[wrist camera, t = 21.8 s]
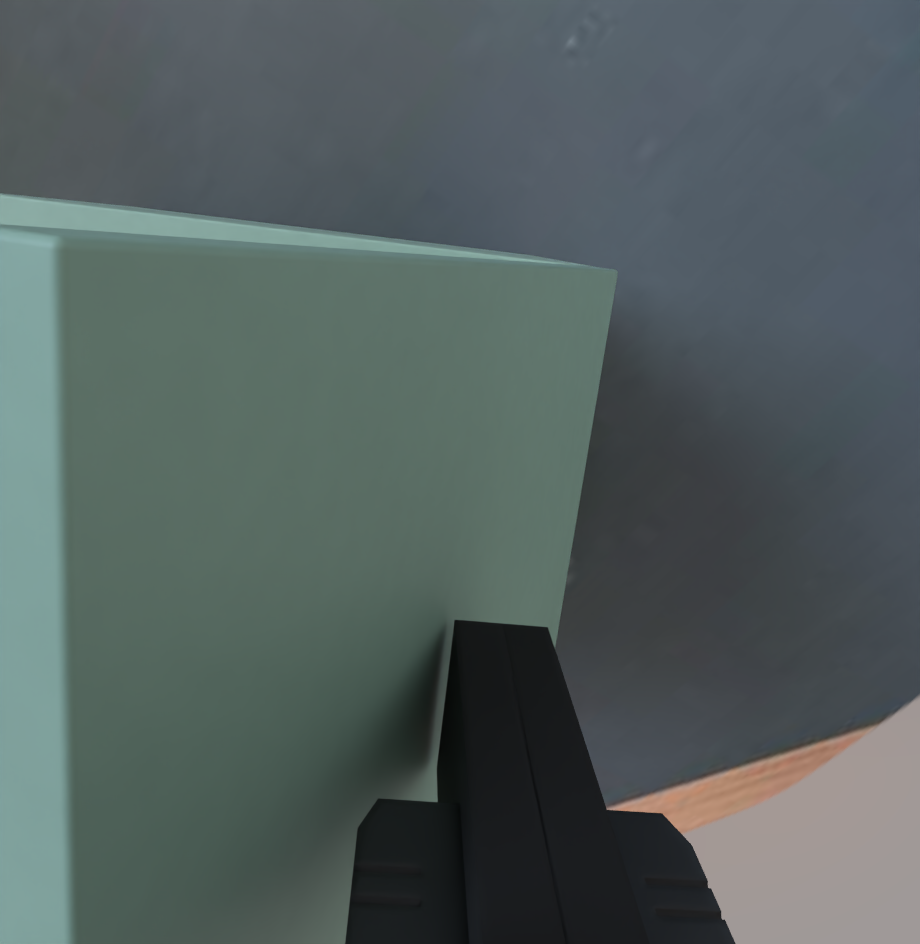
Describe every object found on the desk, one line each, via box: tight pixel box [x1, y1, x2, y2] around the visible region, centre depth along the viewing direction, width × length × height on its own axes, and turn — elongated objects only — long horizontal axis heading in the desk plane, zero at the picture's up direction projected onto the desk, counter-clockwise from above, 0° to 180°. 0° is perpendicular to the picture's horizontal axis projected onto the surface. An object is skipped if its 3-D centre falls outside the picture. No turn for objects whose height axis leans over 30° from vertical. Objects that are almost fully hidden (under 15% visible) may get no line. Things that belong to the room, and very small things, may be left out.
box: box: [0, 193, 593, 267], centre depth 27 cm, size 16×14×13 cm
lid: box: [0, 224, 618, 944], centre depth 14 cm, size 16×14×1 cm
